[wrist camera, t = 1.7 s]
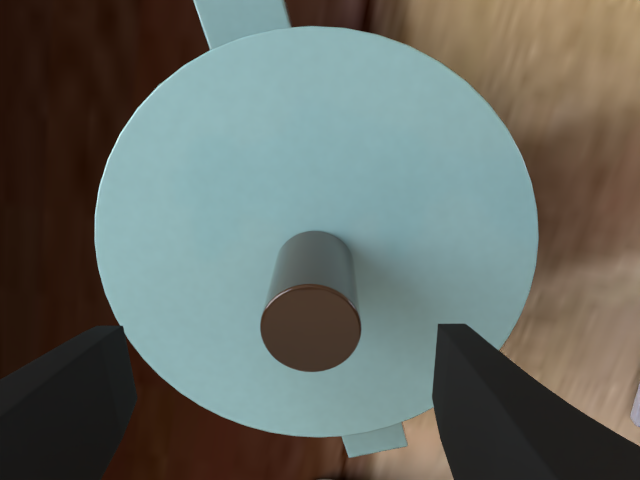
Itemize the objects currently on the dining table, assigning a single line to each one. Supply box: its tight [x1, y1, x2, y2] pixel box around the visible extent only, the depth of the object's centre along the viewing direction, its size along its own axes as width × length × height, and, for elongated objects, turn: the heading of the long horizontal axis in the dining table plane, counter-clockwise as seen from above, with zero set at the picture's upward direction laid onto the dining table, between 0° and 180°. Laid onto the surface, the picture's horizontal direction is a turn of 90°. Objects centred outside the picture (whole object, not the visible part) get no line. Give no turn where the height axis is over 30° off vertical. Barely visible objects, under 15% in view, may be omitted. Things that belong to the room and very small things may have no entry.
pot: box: [193, 0, 408, 458], centre depth 17 cm, size 12×18×5 cm
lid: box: [95, 26, 539, 437], centre depth 13 cm, size 13×13×5 cm
